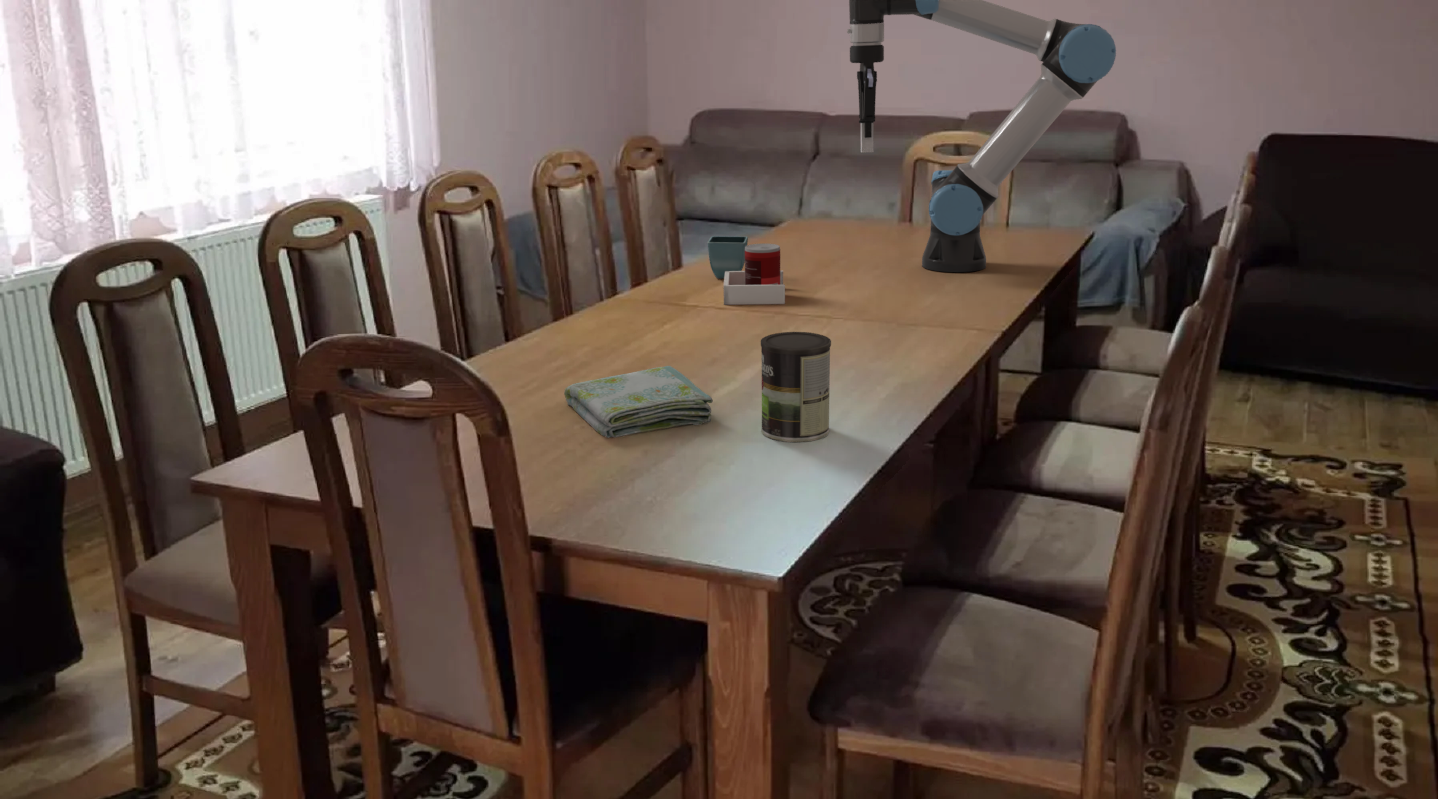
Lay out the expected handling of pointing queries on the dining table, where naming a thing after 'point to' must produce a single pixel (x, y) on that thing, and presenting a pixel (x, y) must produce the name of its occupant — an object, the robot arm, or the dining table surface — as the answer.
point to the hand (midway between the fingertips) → (867, 151)
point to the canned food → (762, 264)
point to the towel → (639, 402)
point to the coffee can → (795, 386)
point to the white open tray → (751, 290)
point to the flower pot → (726, 254)
